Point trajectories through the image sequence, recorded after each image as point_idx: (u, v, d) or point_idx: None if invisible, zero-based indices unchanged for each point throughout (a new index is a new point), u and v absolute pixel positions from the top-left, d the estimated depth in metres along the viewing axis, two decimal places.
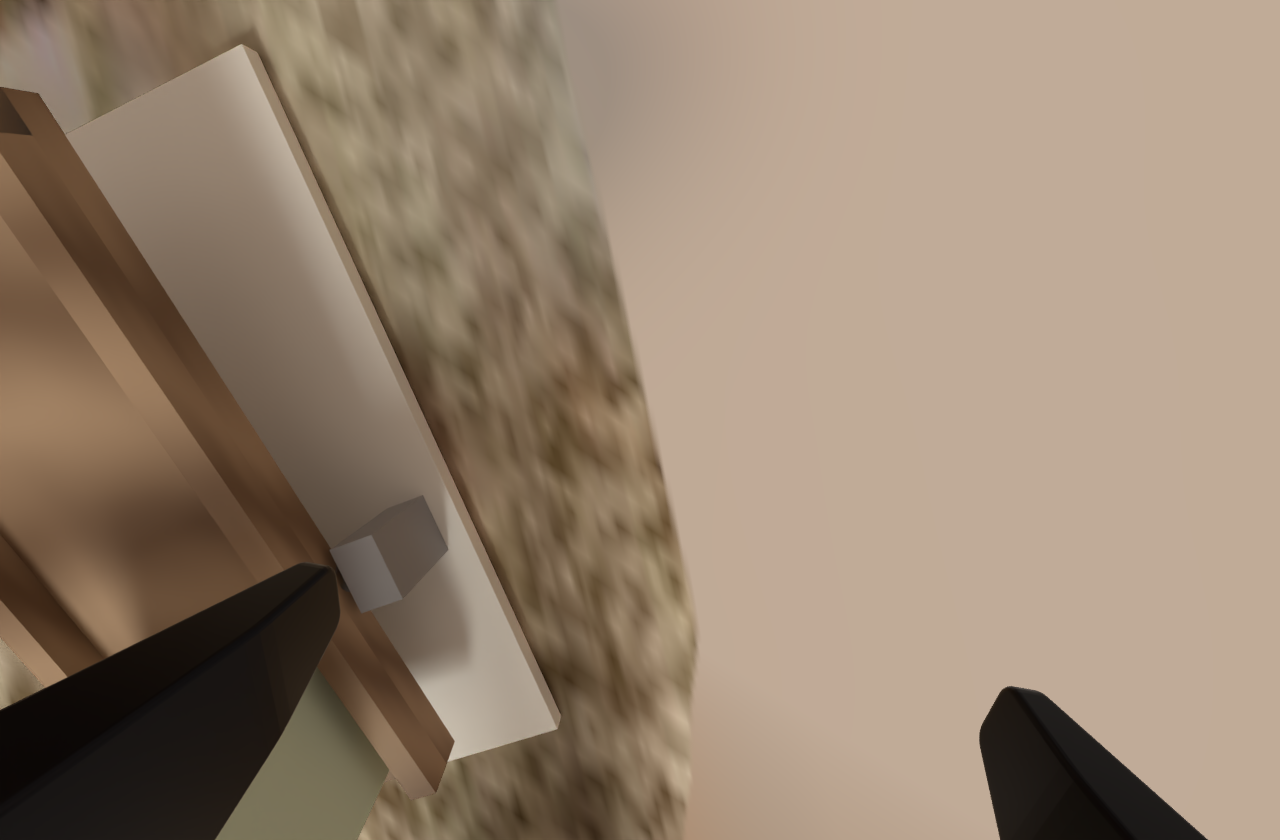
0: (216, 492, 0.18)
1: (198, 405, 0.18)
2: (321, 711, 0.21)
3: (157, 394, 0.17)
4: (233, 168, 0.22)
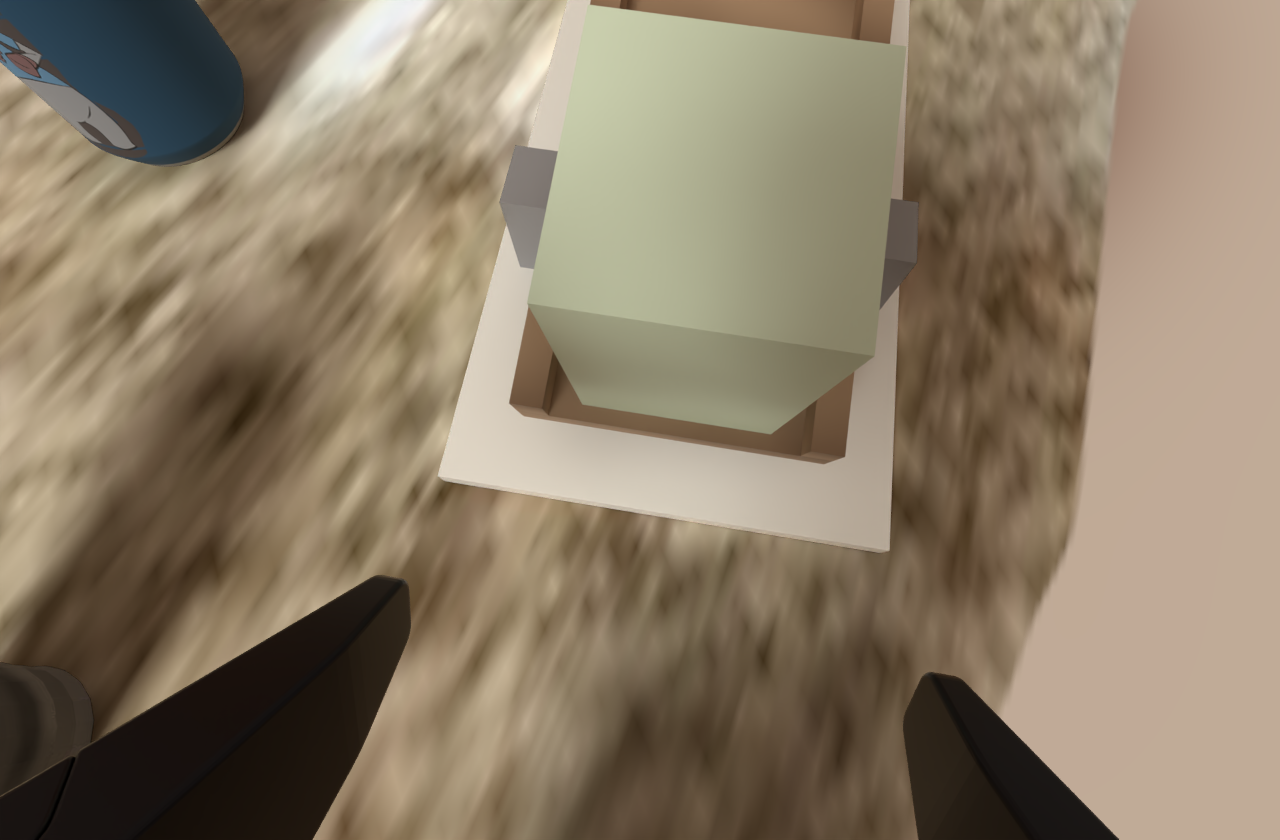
0: None
1: None
2: None
3: None
4: None
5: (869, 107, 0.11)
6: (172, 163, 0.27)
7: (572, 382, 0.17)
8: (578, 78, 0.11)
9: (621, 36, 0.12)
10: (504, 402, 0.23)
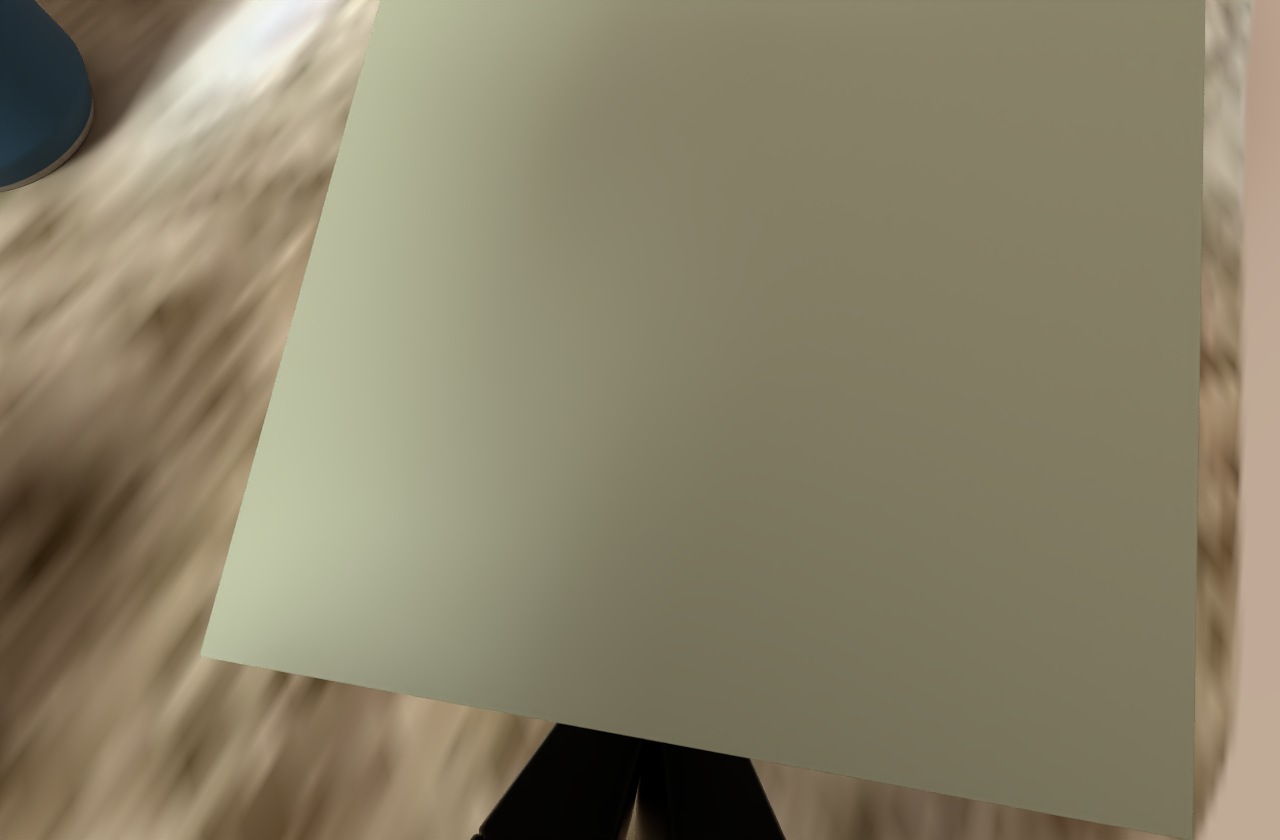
0: None
1: None
2: None
3: None
4: None
5: (1122, 111, 0.04)
6: None
7: None
8: (384, 37, 0.05)
9: None
10: None
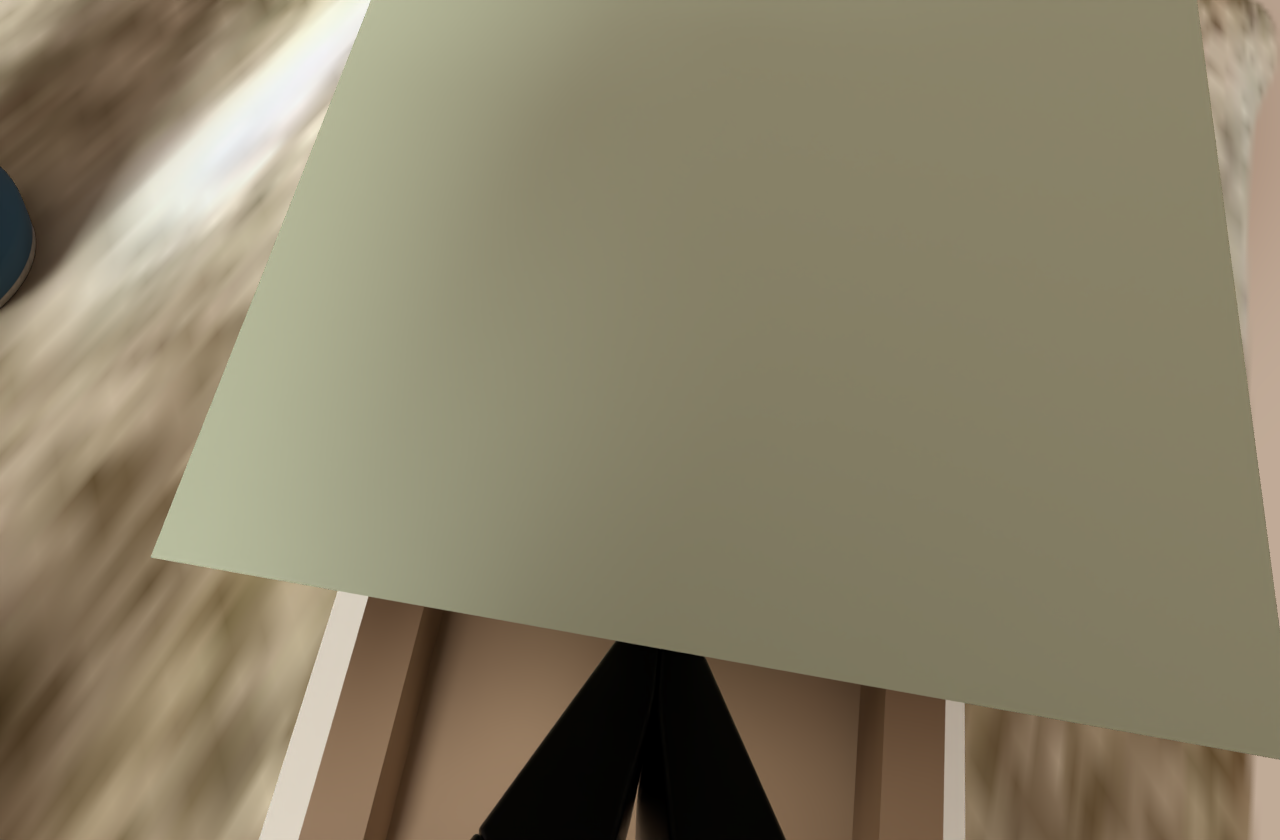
0: None
1: None
2: None
3: None
4: None
5: (1124, 37, 0.04)
6: None
7: None
8: None
9: None
10: None
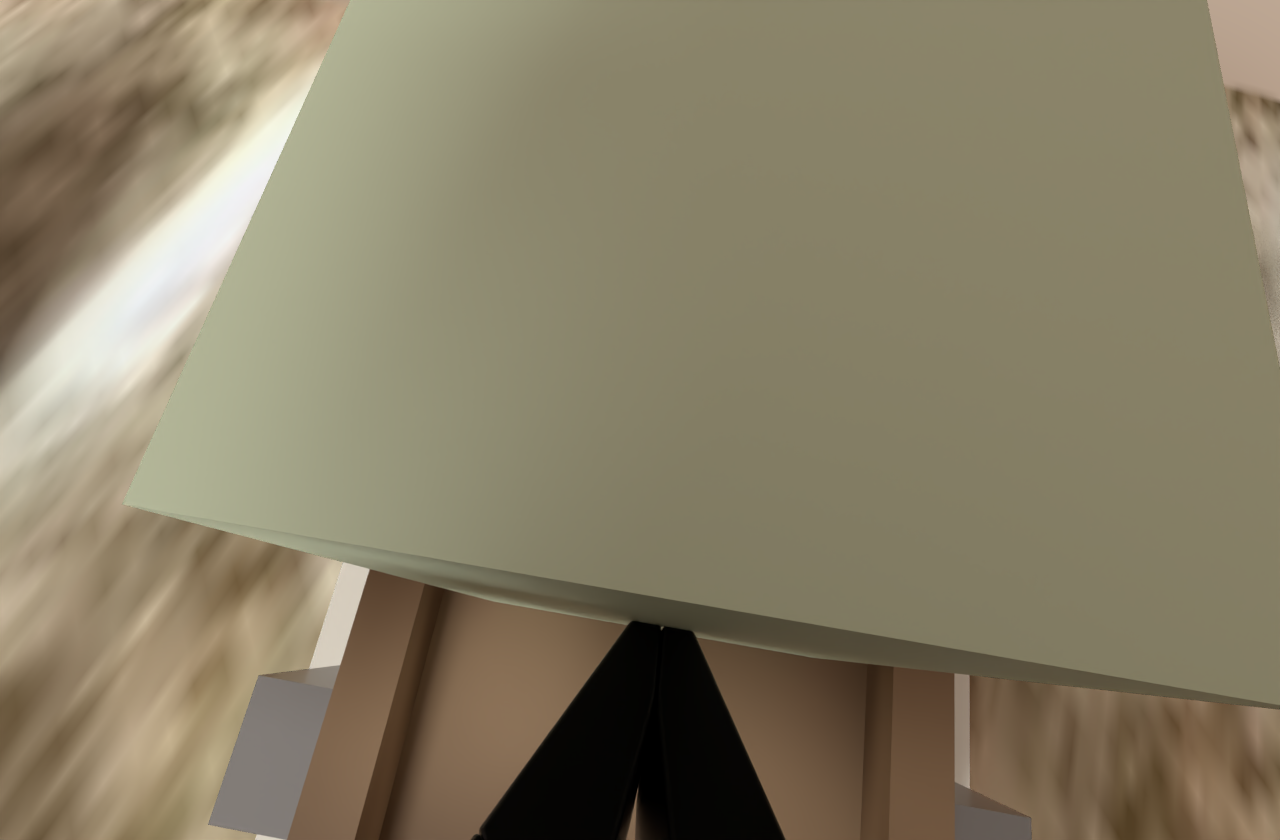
0: None
1: None
2: None
3: None
4: None
5: None
6: None
7: (453, 590, 0.09)
8: None
9: None
10: None
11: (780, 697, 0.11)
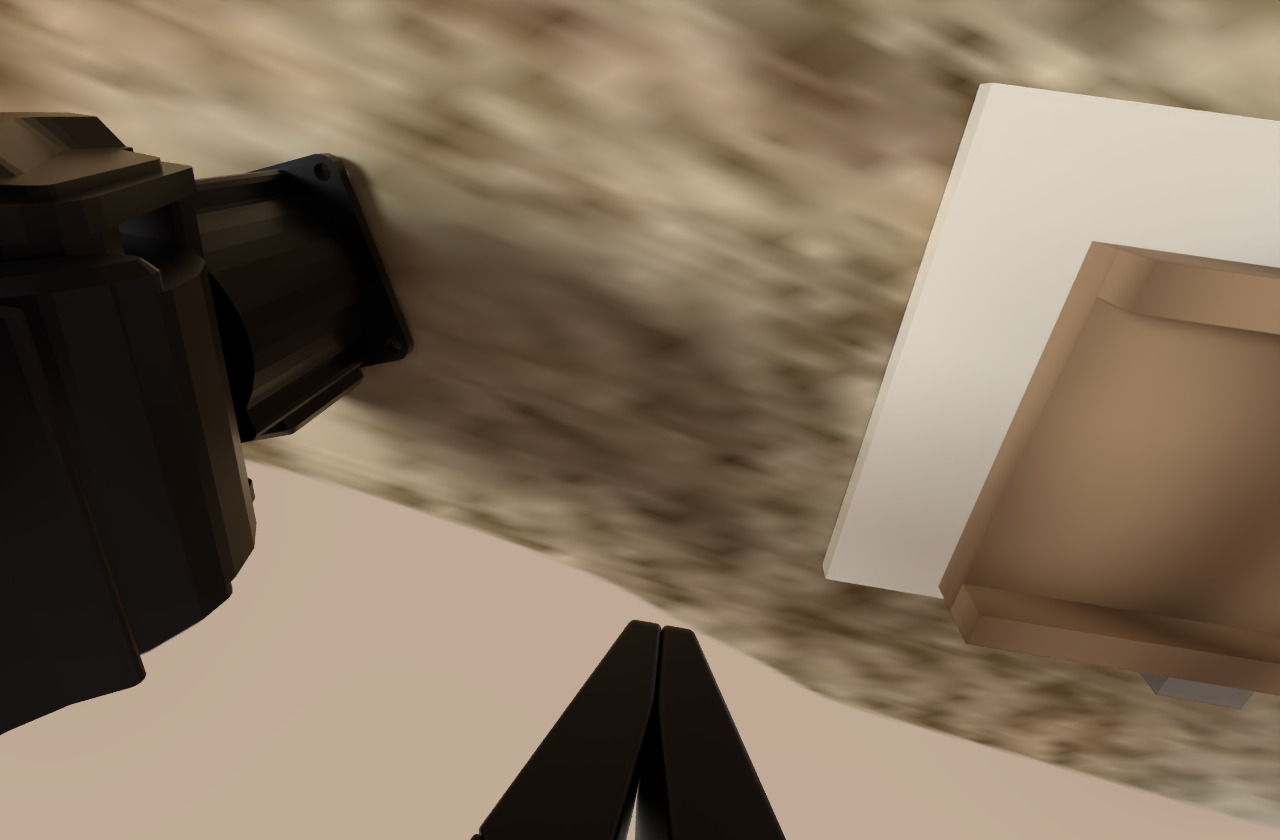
0: None
1: None
2: None
3: None
4: None
5: None
6: None
7: None
8: None
9: None
10: (1088, 173, 0.16)
11: None
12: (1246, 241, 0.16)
